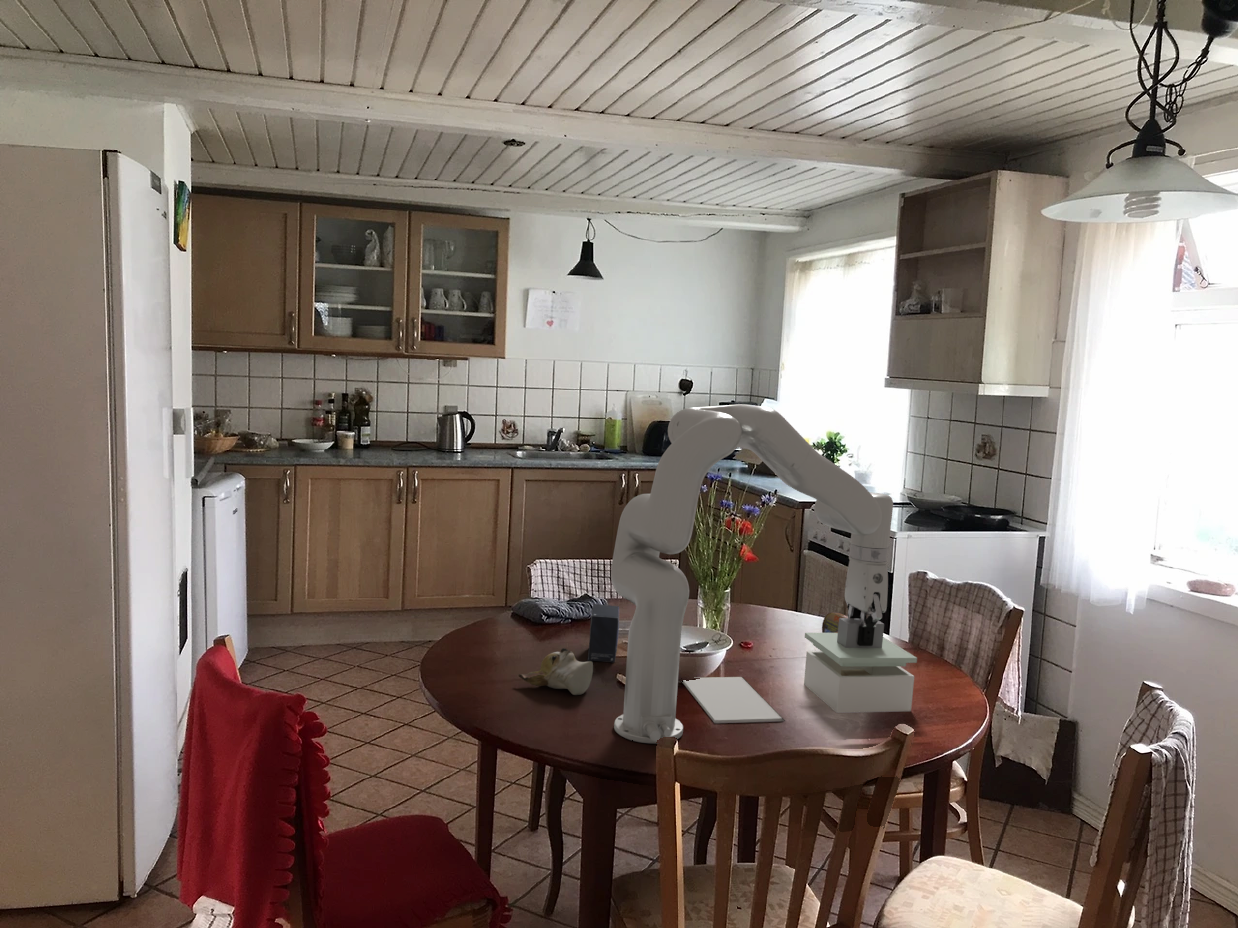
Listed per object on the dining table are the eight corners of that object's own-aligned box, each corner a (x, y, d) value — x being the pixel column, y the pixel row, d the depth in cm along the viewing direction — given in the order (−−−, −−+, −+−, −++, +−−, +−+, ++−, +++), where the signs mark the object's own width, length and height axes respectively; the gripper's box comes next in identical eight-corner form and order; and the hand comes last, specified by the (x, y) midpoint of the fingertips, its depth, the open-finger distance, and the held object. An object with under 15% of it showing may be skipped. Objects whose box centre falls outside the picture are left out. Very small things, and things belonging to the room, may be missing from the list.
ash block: (872, 701, 190) (874, 677, 190) (850, 702, 189) (852, 678, 189) (861, 692, 195) (863, 669, 195) (839, 693, 194) (841, 669, 193)
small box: (616, 663, 207) (619, 617, 206) (587, 661, 207) (589, 615, 206) (617, 648, 217) (620, 604, 216) (589, 647, 217) (592, 603, 216)
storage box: (910, 714, 186) (914, 676, 185) (836, 716, 183) (839, 677, 182) (872, 686, 202) (875, 650, 201) (803, 687, 198) (806, 651, 197)
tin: (819, 641, 233) (822, 608, 232) (830, 640, 235) (833, 607, 234) (855, 660, 220) (859, 625, 219) (866, 659, 221) (870, 625, 220)
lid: (916, 668, 185) (919, 633, 184) (838, 669, 181) (842, 632, 180) (875, 643, 201) (879, 610, 200) (804, 642, 197) (807, 609, 196)
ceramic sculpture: (576, 660, 180) (516, 647, 188) (575, 704, 181) (515, 690, 189) (607, 648, 189) (548, 637, 197) (606, 690, 190) (548, 677, 198)
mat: (827, 720, 181) (828, 717, 181) (714, 723, 176) (714, 720, 176) (782, 679, 203) (782, 676, 203) (681, 680, 198) (681, 678, 198)
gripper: (906, 563, 181) (896, 655, 183) (866, 546, 198) (857, 630, 200) (871, 562, 180) (861, 654, 182) (833, 545, 196) (825, 629, 198)
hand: (859, 641), depth 191 cm, fingers closed on lid, 4 cm apart
